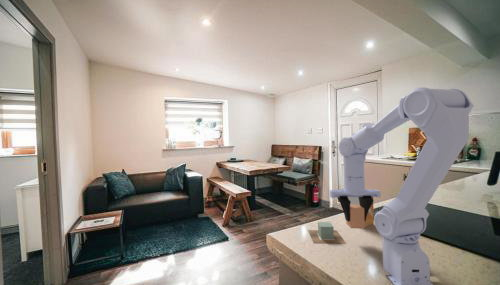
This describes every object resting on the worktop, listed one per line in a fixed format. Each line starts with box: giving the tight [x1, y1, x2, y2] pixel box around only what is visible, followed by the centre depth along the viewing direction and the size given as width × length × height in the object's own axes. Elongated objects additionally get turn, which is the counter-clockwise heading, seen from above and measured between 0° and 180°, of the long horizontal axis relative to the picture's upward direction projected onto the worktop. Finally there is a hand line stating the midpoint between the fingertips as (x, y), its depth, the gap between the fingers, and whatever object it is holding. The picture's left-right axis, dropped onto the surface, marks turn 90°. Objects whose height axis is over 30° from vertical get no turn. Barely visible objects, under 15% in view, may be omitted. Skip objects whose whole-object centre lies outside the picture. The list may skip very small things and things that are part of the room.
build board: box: [307, 229, 347, 245], centre depth 71 cm, size 10×10×1 cm
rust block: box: [345, 205, 366, 229], centre depth 66 cm, size 4×4×6 cm
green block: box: [317, 221, 334, 239], centre depth 71 cm, size 4×4×4 cm
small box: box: [348, 197, 375, 228], centre depth 82 cm, size 8×6×13 cm
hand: (355, 220), depth 66 cm, fingers closed on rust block, 4 cm apart
